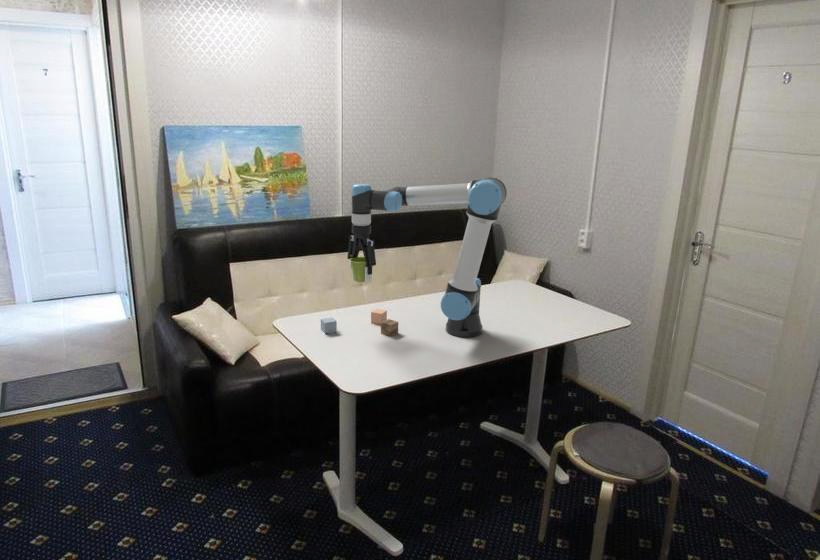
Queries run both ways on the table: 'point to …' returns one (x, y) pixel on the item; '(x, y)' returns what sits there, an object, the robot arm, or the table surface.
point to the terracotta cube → (378, 316)
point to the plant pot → (358, 268)
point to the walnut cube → (389, 327)
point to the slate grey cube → (328, 325)
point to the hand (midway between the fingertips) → (361, 279)
